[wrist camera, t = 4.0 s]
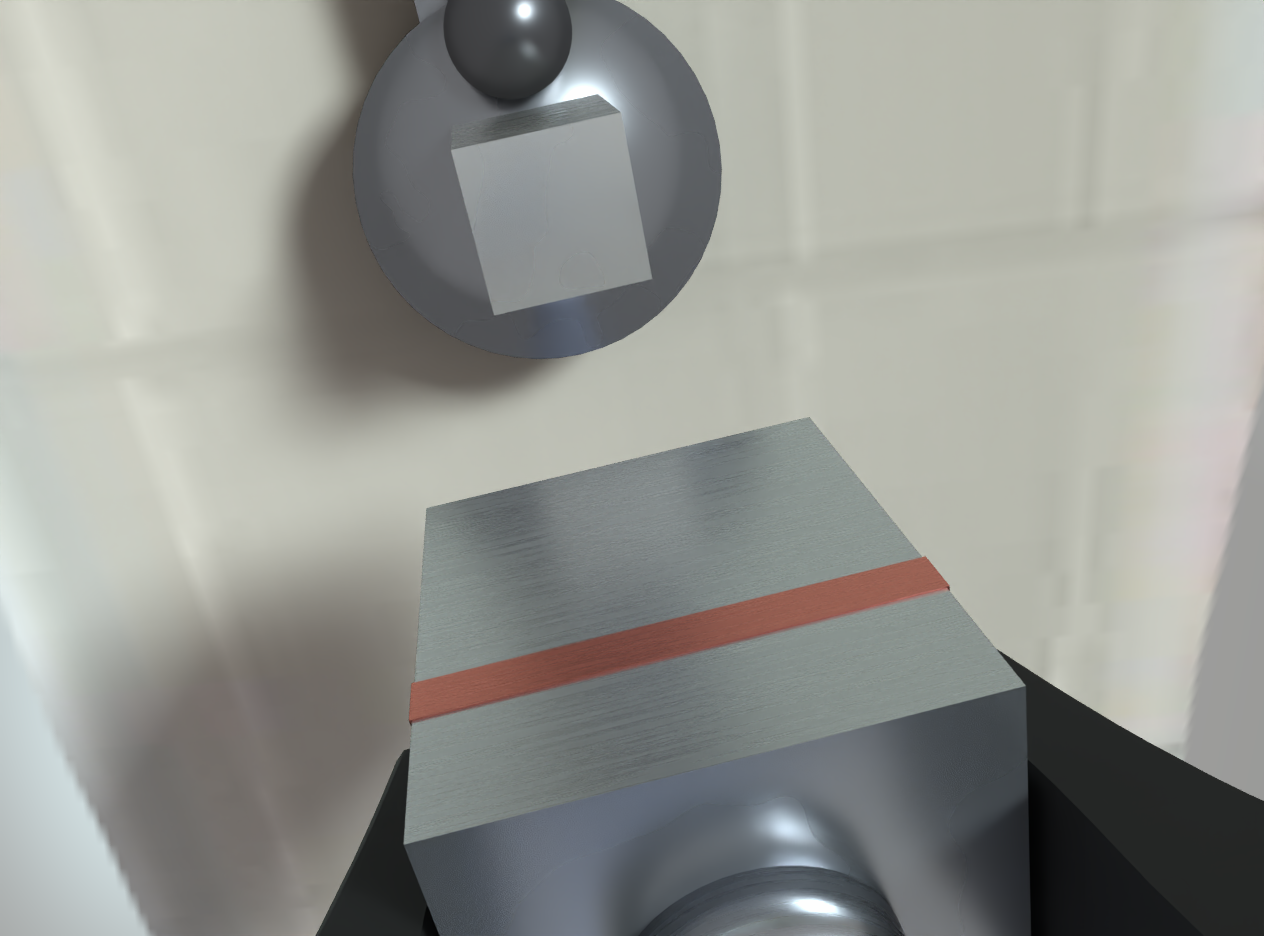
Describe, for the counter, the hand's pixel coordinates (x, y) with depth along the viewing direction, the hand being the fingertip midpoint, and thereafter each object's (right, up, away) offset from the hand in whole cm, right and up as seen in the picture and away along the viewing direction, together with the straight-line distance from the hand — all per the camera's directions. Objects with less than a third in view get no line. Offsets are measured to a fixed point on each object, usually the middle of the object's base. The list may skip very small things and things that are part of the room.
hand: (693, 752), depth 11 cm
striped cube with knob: (0, +1, +2) cm, 2 cm away
